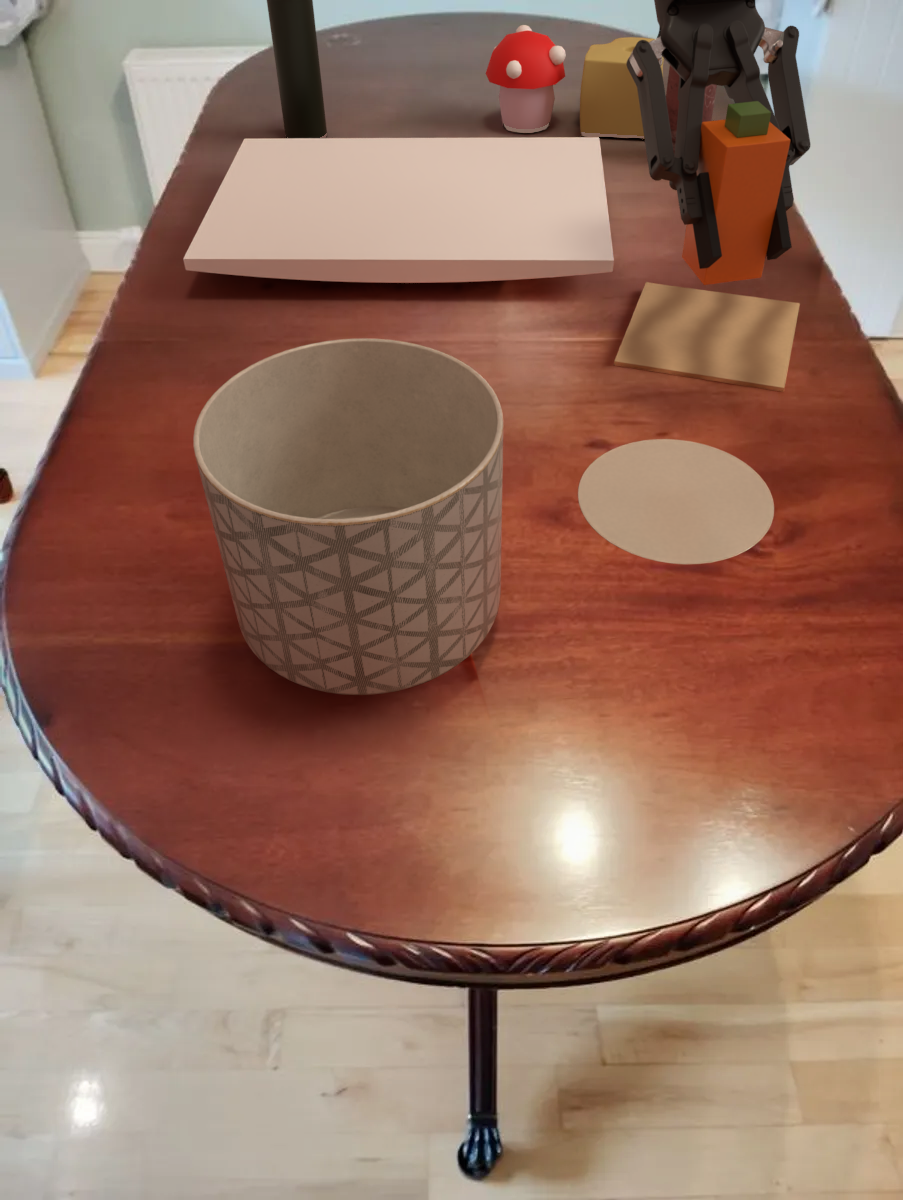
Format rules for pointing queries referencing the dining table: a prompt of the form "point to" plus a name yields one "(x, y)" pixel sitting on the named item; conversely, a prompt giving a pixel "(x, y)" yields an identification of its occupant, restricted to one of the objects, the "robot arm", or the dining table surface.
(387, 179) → the board
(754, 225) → the carrot block
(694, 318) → the coaster
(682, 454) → the plate
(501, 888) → the dining table surface
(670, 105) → the can
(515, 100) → the mushroom
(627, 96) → the cheese
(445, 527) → the planter
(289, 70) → the wine bottle
